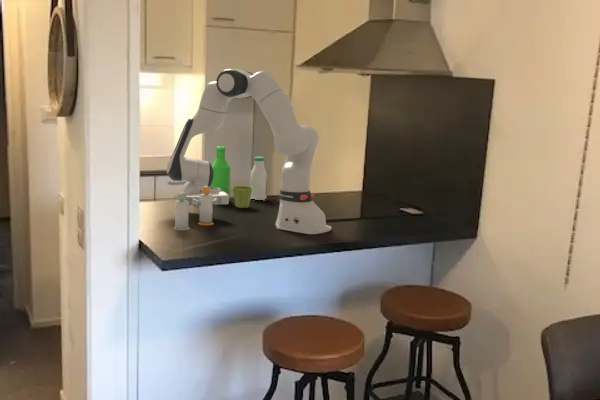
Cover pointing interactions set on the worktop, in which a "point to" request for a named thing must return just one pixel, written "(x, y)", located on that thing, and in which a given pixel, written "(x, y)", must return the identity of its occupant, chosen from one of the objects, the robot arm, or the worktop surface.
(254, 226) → the worktop surface
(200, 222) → the card
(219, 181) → the bottle
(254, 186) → the milk bottle
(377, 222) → the worktop surface
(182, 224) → the green ball tube
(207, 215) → the orange ball tube
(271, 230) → the worktop surface
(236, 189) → the plant pot
